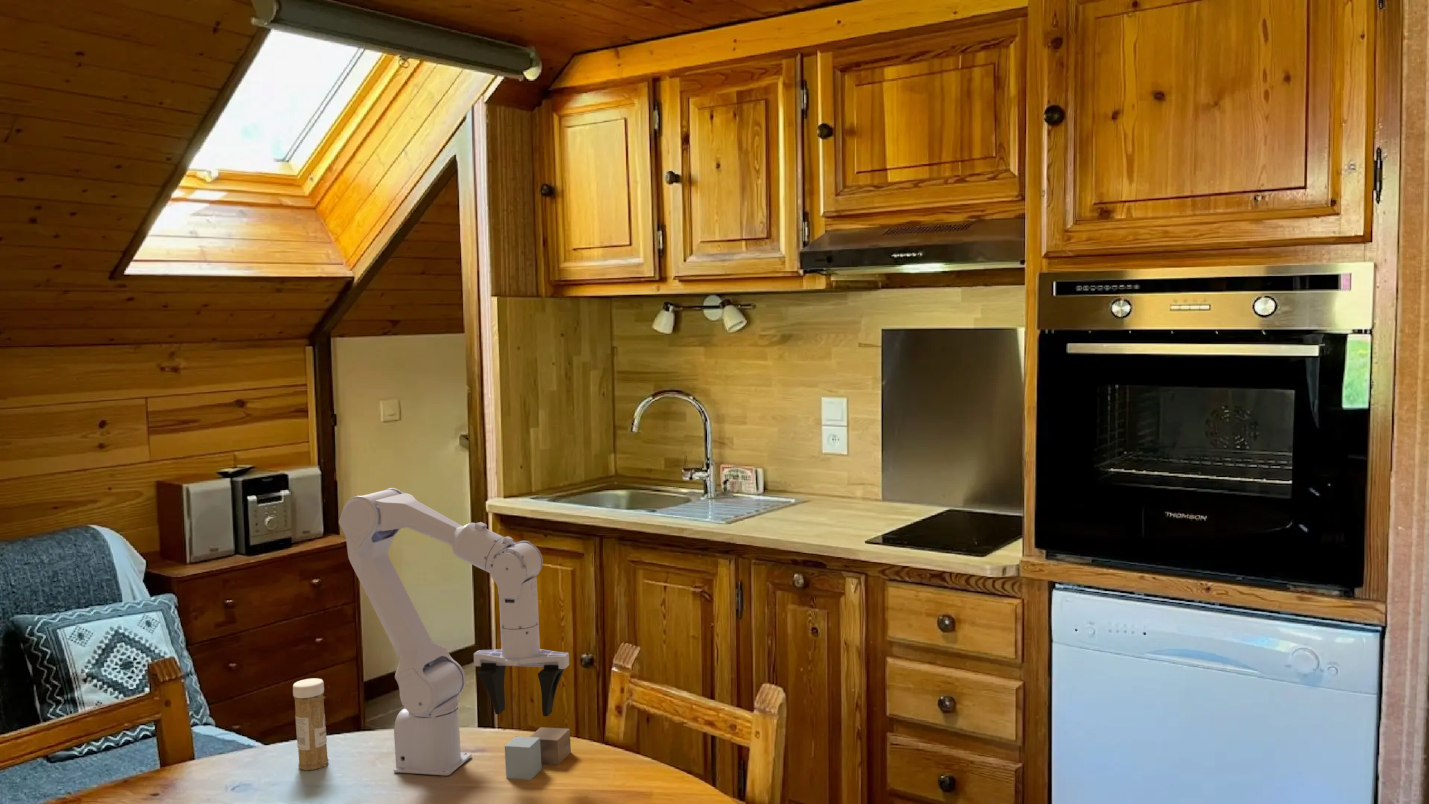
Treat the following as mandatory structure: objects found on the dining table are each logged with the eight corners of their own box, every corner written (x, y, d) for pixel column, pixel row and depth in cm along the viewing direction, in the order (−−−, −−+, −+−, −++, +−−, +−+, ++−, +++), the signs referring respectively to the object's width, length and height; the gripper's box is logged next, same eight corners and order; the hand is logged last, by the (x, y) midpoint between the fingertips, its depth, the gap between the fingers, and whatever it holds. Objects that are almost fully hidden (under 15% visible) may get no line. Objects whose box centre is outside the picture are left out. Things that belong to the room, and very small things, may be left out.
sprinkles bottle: (331, 766, 170) (326, 682, 169) (301, 773, 168) (296, 688, 167) (324, 757, 174) (319, 675, 173) (294, 764, 172) (289, 681, 171)
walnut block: (528, 763, 168) (527, 738, 168) (541, 751, 173) (540, 727, 173) (558, 765, 167) (557, 740, 167) (570, 753, 172) (569, 728, 172)
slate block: (506, 778, 163) (504, 746, 163) (517, 768, 167) (515, 736, 166) (531, 780, 162) (529, 747, 162) (541, 769, 166) (540, 737, 165)
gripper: (463, 630, 160) (467, 720, 161) (555, 632, 157) (559, 724, 158) (483, 618, 167) (487, 704, 168) (572, 620, 164) (576, 708, 165)
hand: (523, 713), depth 164 cm, fingers open, 7 cm apart
